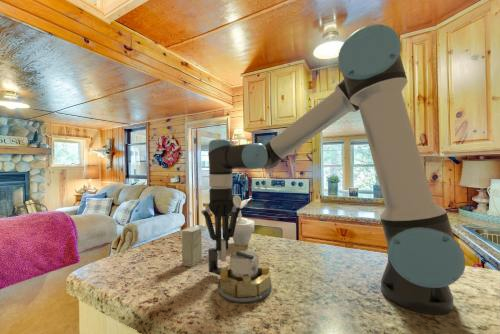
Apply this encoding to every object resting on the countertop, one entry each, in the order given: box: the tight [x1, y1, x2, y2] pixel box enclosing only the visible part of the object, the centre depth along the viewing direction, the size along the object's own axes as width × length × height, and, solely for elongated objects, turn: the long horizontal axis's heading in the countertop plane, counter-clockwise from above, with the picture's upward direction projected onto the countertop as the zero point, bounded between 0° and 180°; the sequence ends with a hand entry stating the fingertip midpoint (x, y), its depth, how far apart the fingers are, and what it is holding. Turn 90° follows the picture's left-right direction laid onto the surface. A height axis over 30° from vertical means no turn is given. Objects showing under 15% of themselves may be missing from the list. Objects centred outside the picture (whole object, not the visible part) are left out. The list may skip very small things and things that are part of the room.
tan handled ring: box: [207, 247, 271, 297], centre depth 66 cm, size 21×14×7 cm, turn 52°
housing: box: [217, 250, 273, 305], centre depth 64 cm, size 15×15×10 cm
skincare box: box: [181, 226, 203, 268], centre depth 82 cm, size 6×4×12 cm
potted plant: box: [228, 190, 255, 247], centre depth 102 cm, size 13×12×25 cm
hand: (222, 259), depth 74 cm, fingers closed
